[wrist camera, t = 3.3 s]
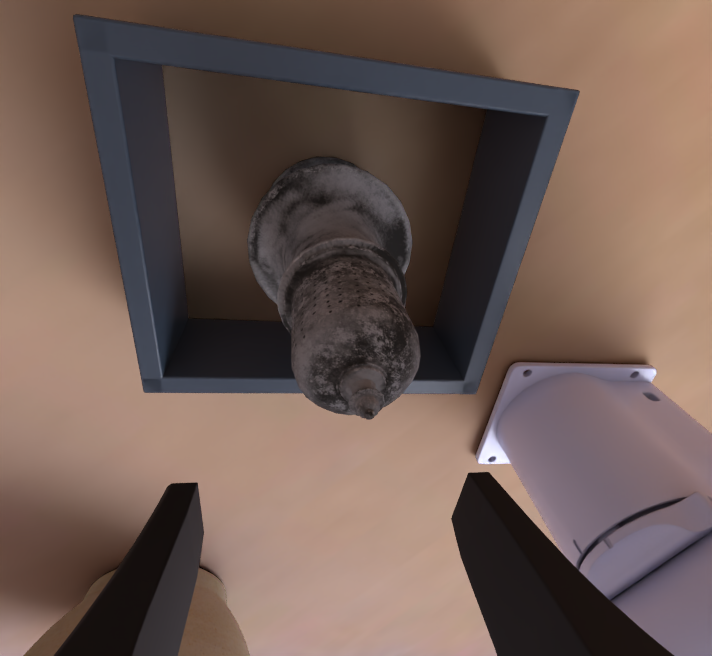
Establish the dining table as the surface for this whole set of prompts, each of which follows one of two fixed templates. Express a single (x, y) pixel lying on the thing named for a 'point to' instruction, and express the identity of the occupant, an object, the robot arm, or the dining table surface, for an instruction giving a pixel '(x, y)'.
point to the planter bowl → (202, 630)
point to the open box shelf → (318, 68)
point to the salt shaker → (338, 282)
